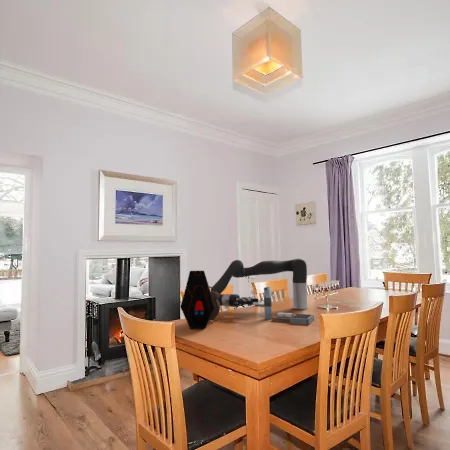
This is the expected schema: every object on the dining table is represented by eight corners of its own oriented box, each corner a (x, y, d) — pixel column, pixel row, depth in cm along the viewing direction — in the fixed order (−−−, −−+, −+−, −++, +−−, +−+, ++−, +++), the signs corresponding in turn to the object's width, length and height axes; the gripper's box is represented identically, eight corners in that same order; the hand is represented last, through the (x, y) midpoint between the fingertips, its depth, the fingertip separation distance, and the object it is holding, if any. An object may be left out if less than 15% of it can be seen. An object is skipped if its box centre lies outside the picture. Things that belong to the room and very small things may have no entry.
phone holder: (274, 291, 249) (272, 293, 238) (275, 304, 248) (272, 307, 237) (251, 290, 255) (247, 292, 244) (251, 303, 254) (247, 306, 243)
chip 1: (279, 319, 196) (279, 312, 196) (285, 319, 194) (285, 312, 194) (276, 320, 192) (276, 313, 192) (283, 321, 190) (283, 314, 191)
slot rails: (277, 317, 199) (277, 314, 200) (296, 319, 194) (296, 315, 195) (271, 321, 190) (271, 317, 190) (290, 322, 185) (290, 319, 185)
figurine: (217, 326, 182) (216, 269, 184) (215, 329, 174) (214, 270, 176) (183, 326, 183) (182, 270, 186) (180, 329, 176) (179, 271, 178)
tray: (296, 318, 196) (296, 313, 196) (314, 320, 191) (314, 314, 191) (290, 323, 184) (289, 317, 184) (308, 325, 179) (308, 319, 180)
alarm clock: (221, 320, 195) (220, 285, 196) (219, 323, 188) (218, 286, 189) (196, 320, 197) (195, 285, 199) (193, 323, 190) (192, 287, 191)
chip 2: (286, 319, 194) (286, 312, 194) (293, 320, 192) (293, 313, 192) (284, 321, 190) (284, 314, 190) (291, 321, 188) (291, 314, 189)
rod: (266, 317, 200) (265, 286, 202) (273, 318, 198) (272, 286, 200) (262, 319, 195) (262, 287, 196) (269, 320, 193) (268, 288, 194)
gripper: (236, 304, 214) (260, 306, 206) (225, 308, 201) (250, 310, 194) (235, 292, 215) (259, 293, 207) (225, 295, 202) (250, 296, 194)
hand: (255, 301), depth 200 cm, fingers open, 8 cm apart
